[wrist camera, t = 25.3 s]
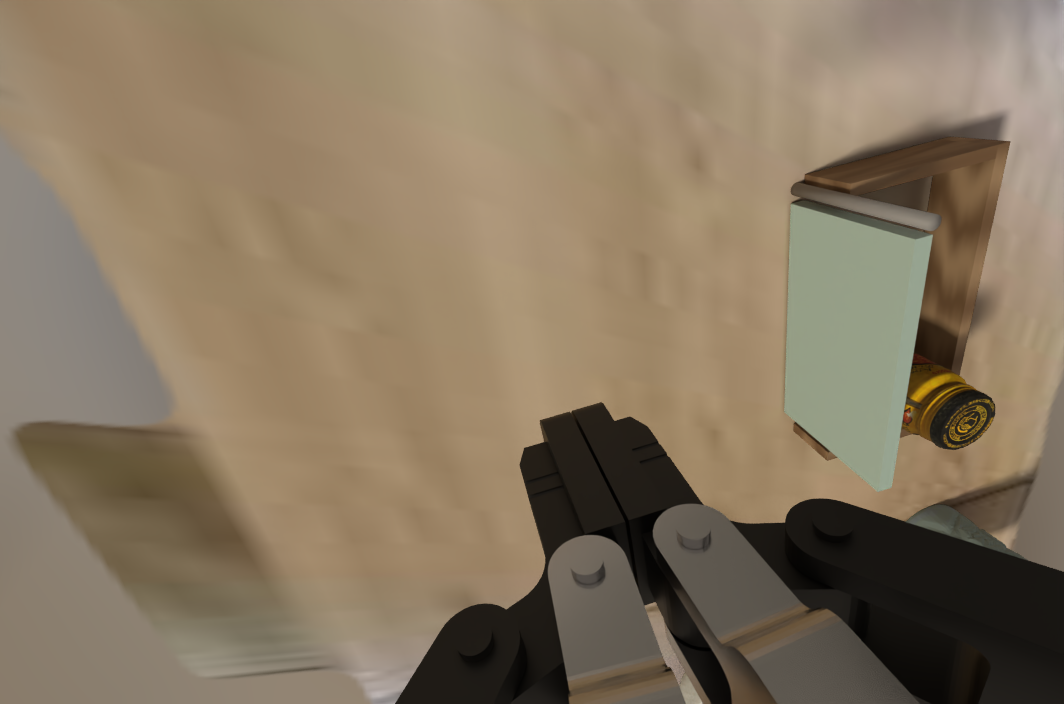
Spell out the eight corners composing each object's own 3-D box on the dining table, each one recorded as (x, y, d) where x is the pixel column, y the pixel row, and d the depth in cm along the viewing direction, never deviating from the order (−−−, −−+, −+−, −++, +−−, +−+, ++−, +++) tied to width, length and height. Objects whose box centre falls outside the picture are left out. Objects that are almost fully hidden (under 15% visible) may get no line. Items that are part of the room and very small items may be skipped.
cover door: (789, 184, 42) (926, 217, 31) (803, 181, 42) (944, 212, 31) (783, 411, 53) (882, 496, 41) (793, 407, 53) (896, 491, 42)
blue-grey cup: (968, 492, 65) (1076, 569, 54) (949, 549, 70) (1046, 630, 59) (895, 512, 64) (991, 595, 53) (881, 569, 68) (967, 656, 58)
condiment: (887, 315, 50) (1013, 374, 40) (886, 385, 54) (1000, 456, 44) (817, 343, 50) (926, 410, 39) (821, 411, 54) (921, 489, 43)
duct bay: (805, 174, 42) (850, 183, 38) (949, 136, 43) (1010, 141, 39) (793, 431, 54) (827, 460, 50) (906, 396, 55) (949, 422, 51)
